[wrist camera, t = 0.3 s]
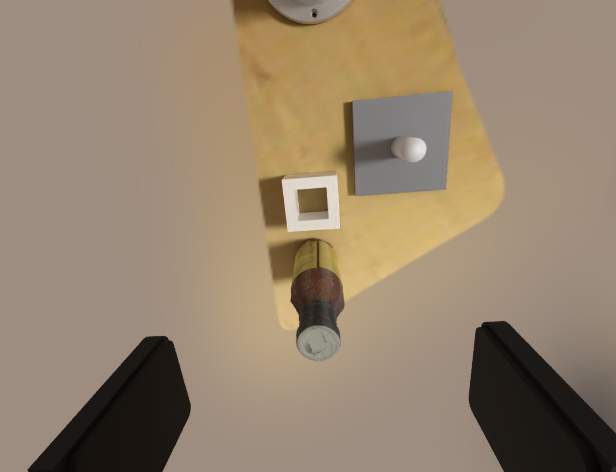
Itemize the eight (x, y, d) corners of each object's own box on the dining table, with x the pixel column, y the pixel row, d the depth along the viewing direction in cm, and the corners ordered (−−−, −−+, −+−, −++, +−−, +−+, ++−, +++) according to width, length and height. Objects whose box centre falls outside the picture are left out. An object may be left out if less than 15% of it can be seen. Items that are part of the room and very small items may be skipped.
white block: (285, 175, 41) (281, 179, 38) (335, 170, 41) (337, 175, 37) (291, 222, 44) (287, 231, 40) (338, 219, 43) (340, 228, 39)
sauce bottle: (294, 271, 46) (274, 368, 28) (297, 234, 44) (278, 311, 26) (336, 276, 46) (344, 376, 28) (341, 238, 44) (353, 319, 25)
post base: (351, 101, 38) (357, 96, 31) (449, 91, 37) (476, 84, 30) (355, 194, 42) (360, 207, 35) (443, 188, 41) (465, 199, 34)
